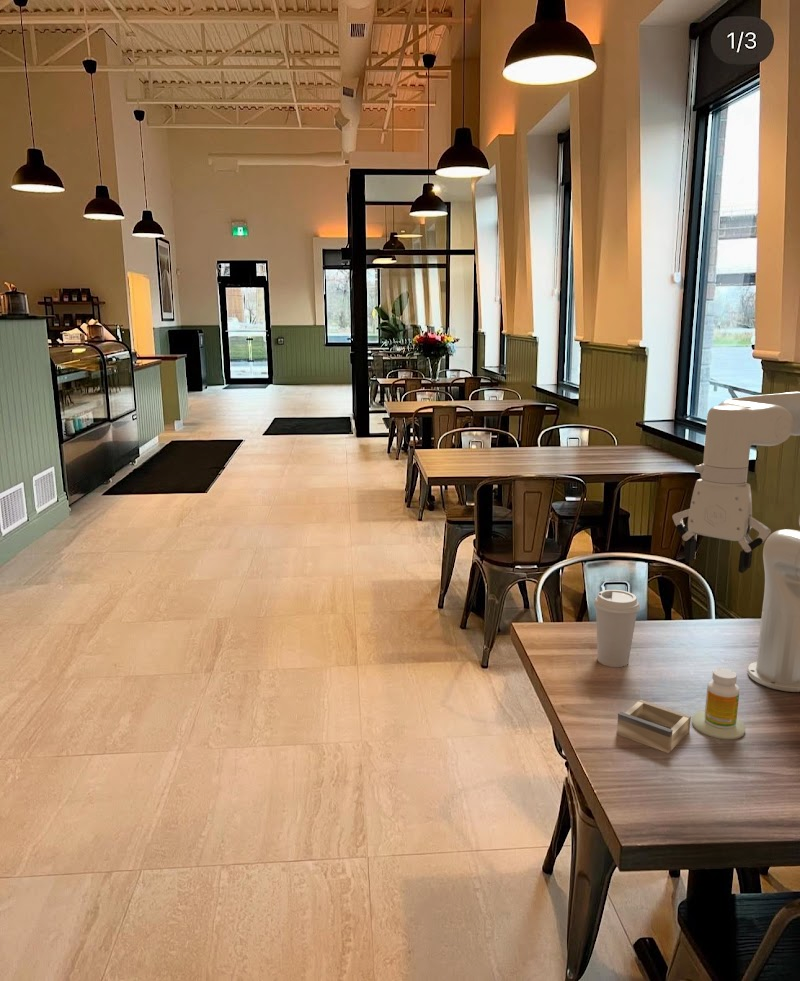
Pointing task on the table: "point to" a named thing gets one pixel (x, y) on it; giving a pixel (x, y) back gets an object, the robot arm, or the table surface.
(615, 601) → the coffee cup
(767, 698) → the table surface
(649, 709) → the can holder
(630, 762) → the table surface
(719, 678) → the supplement bottle
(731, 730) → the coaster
